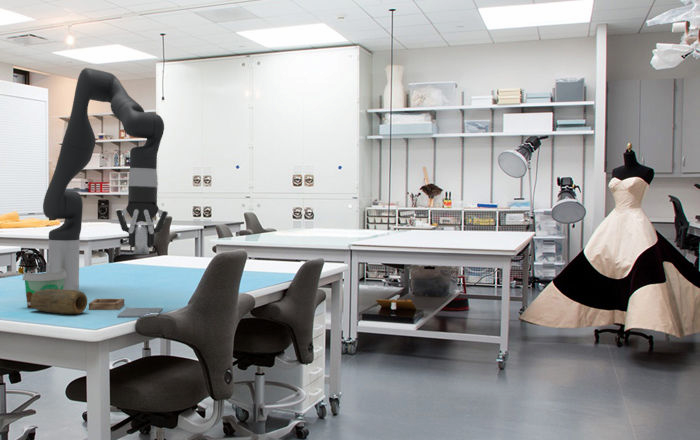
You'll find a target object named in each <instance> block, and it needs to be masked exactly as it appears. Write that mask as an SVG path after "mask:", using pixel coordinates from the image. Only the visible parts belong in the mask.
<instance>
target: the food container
mask: <svg viewBox="0 0 700 440" xmlns="http://www.w3.org/2000/svg"><path fill="white" fill-rule="evenodd" d="M23 273H24V274H23V276H22V281H24V285H25V287H24V288H25V296H26V297H25V298H26V306H27V309H33V308H32V307H31V304H30V300H31V296H32V295H33V294H34V293H35V292H37V291H39V290H44V289H63V285H64V279H65V278H67V276H66V272H65V270H62V269H61V272H57V273H46V272H41V273H40V272H37V273H35V272H31V273H30V272H23Z"/></svg>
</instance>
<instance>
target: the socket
mask: <svg viewBox="0 0 700 440" xmlns="http://www.w3.org/2000/svg"><path fill="white" fill-rule="evenodd" d="M124 306H125V299H124V298H95V299H93V300H92V301H90V302H88V310H89V311H91V310H92V311H94V310H95V311H97V310H98V311H99V310H100V311H102V310H103V311H106V310H108V311H115V310H116V311H119V310H120V309H121V308H123V307H124Z"/></svg>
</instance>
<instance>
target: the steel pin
mask: <svg viewBox="0 0 700 440" xmlns="http://www.w3.org/2000/svg"><path fill="white" fill-rule="evenodd" d="M149 234H150V232H149V228H148V225H147V224H141V223H140V224H139V223H137V225H135V228H134V247H133V254H134V255H149V254H150V248H149V247H148V241H149Z"/></svg>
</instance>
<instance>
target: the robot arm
mask: <svg viewBox="0 0 700 440" xmlns="http://www.w3.org/2000/svg"><path fill="white" fill-rule="evenodd" d="M73 96H74V97H73V102H72V107H71V113H70V116H69V119H68V124H67V126H66V130H65V132H64V136H63V138H62V143H61V147H60V150H59V155H58V159H57V163H56V165H55V169H54V172H53V174H52V176H51V180H50V182H49V183H48V187H47V190H46V191H45V192H46V193H45V195H44V198H43V203H42V212H43V215H44V216H45V217H46V218H47V219H52V220H64V221H63V223H62V224H61V225H60V226H59V227H56V228H54V229H52V230H50V231H49V232H48V255H47V256H48V257H47V258H48V259H47V260H48V262H47V263H46V264H45V273H57V272H61V269H62V270H65V272H66V276H67V278H65V279H64V285H63V289H65V290H76V291H80V239H81V237H80V236H81V232H82V231H81V230H82V219H83V207H84V206H83V197H82V195H81V194H80V193H79V192H78V191H73V190H67V187H68V185H69V184H70V182H71V181H72V180H73V179H74V178H75V177H76V176H78V175H79V173H81V172H82V171H83V170H84V169H85V168H86V167H87V166H88V164H89V163H90V161H91V160H92V157H93V153H94V150H95V147H96V144H97V143H96V136H95V132H94V130H93V127H92V125H91V122H90V119H89V115H88V111H89V110H88V108H89V103H90V101H95V102H96V101H97V102H100V103H109V104H110V110H111V113H112V114H113V115H114V116H115V117H116V118H117V119H118V120H119V121H120V122H121V124H122V127H123V130H124V131H123V132H124V133H125V135H126V134H127V135H128V136H130V137H132V138H136V139H137V138H138V139H146V141H145V143H144V145H140V146H133V147H132V148H131V149H130V153H129V173H128V189H127V190H128V193H127V194H128V196H127V199H128V200H127V202H128V203H127V206H126V208H123V209H117V210H116V211H115V213H116V216H117V220H118V222H119V225H120V228H121V230H122V231H123V232H126V233H127V234H128V245H129V246H130V248H134V228H135V225H137V224H139V223H140V222H143V223H146V225H148V228H149V232H150V234H149V241H148V247H149V249H151V248H153V246H155V244H156V242H155V241H156V233H160V232H162V231H163V228H164V226H165V223H166V220H167V218H168V216H169V213H168V211H167V210H165V211H164V210H163V209H160V207H159V206H158V186H159V182H158V170H157V167H158V166H157V165H158V152H159V148H160V146H161V145H160V144H161V142H162V141H161V140H162V139H163V135H164V131H165V123H164V122H165V121H164V119H163V118H162V116H160V115H159V114H158V113H153V112H145V110H144V107H142V106H141V105H140V104H139V103H138V102H137V101H136V100H135V99H133V98H132V97H131V96H130V95H129V94H128V92H127V90H126V89H125V87H124V86H123V85H122V83H121V82H120V80H119V78H117V76H116V75H115V74H113V73H111V72H107V71H104V70H100V69H94V68H90V67H86V68H83V69H82V70H81V71H80V73H79V75H78V79H77V82H76V85H75V91H74V95H73ZM127 214H128V215H129V216H130V218H131V221H130V224H129V225H130V226H128V224H127V221H126V216H127ZM157 214H158V218H160V219H159V221H158V224H157V227H155V223H154V218H155V216H156V215H157Z"/></svg>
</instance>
